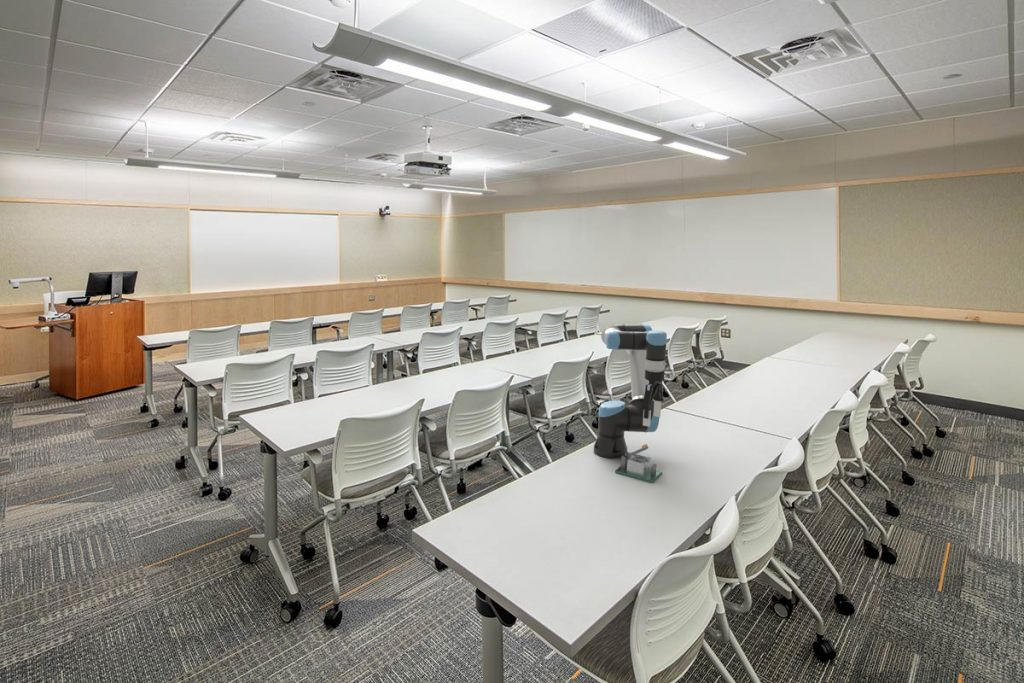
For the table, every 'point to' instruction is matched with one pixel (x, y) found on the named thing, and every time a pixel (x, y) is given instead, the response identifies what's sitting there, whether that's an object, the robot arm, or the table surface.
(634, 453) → the grey rod
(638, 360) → the robot arm
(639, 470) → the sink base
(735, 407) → the table surface
